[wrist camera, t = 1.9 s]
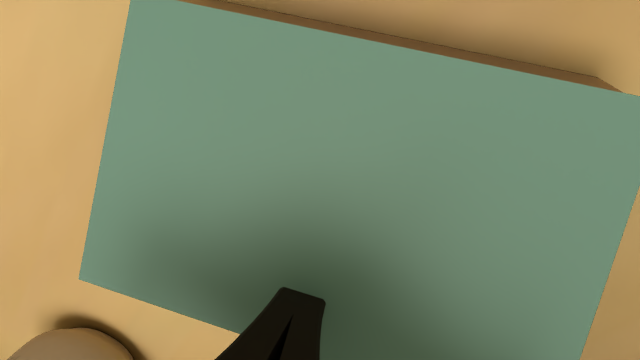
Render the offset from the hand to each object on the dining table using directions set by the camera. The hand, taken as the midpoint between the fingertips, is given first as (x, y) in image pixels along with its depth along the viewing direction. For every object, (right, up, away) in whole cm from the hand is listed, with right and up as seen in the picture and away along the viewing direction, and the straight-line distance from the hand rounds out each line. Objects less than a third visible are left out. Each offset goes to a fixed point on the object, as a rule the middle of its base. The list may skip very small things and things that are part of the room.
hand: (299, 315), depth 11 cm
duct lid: (+1, +3, +1) cm, 4 cm away
